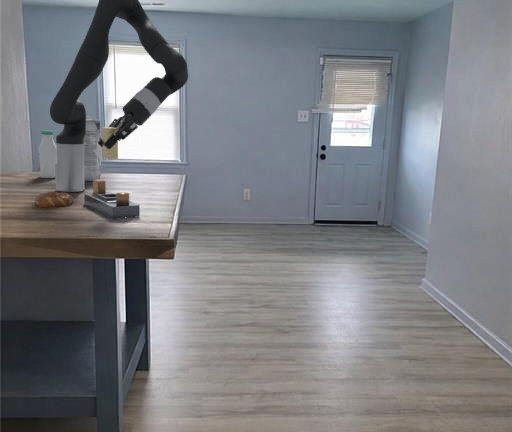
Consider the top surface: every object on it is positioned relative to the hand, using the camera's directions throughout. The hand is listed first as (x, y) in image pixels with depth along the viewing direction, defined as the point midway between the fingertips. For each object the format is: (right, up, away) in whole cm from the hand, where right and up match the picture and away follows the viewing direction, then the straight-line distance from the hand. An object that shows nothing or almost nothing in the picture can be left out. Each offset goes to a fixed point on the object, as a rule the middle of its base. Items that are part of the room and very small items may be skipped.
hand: (103, 146), depth 136 cm
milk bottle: (-45, -4, +64) cm, 78 cm away
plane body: (+1, -19, +5) cm, 20 cm away
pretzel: (-19, -17, +10) cm, 27 cm away
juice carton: (-28, -5, +63) cm, 69 cm away
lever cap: (+1, -3, +2) cm, 4 cm away
